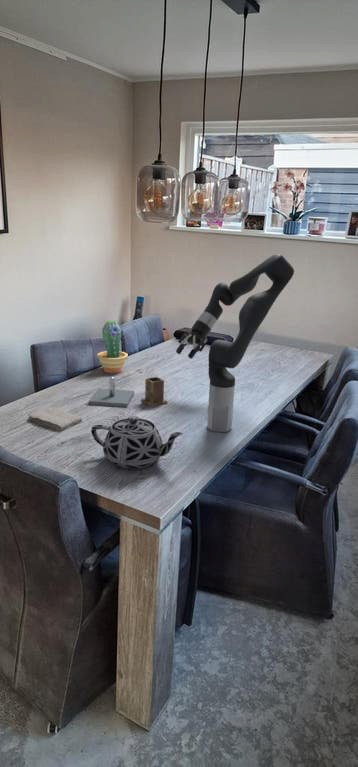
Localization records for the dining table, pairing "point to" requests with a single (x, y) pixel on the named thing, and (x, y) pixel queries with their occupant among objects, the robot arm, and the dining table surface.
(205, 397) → the dining table surface
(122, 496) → the dining table surface
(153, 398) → the flanged sleeve
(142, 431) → the teapot
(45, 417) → the washcloth
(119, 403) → the post plate
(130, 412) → the dining table surface
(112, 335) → the potted cactus
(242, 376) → the dining table surface
